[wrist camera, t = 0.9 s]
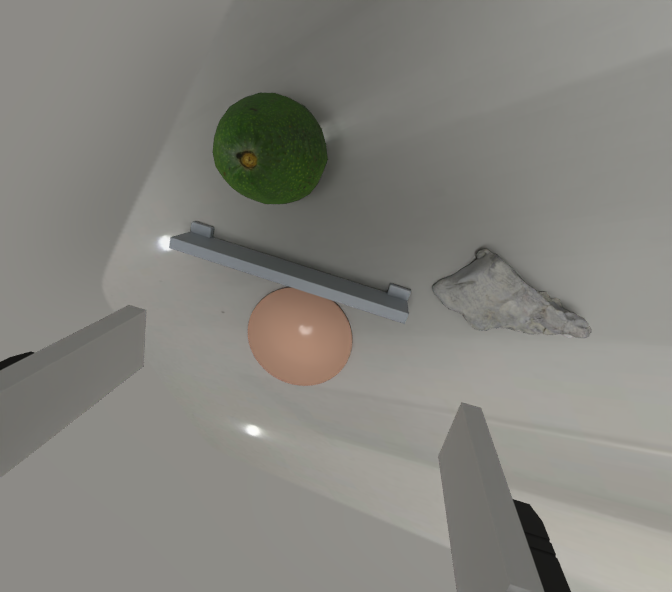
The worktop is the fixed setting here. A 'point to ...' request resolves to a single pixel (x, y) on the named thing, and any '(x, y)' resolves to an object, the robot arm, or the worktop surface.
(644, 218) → the worktop surface
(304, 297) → the saucer
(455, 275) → the stone
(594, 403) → the worktop surface
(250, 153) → the fruit
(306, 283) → the acrylic wall
